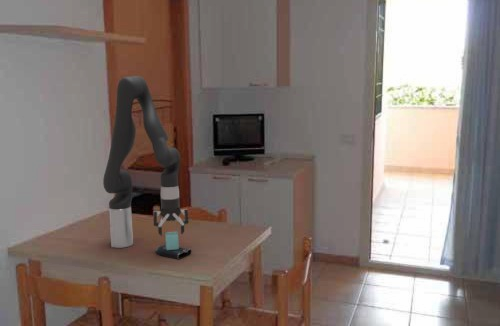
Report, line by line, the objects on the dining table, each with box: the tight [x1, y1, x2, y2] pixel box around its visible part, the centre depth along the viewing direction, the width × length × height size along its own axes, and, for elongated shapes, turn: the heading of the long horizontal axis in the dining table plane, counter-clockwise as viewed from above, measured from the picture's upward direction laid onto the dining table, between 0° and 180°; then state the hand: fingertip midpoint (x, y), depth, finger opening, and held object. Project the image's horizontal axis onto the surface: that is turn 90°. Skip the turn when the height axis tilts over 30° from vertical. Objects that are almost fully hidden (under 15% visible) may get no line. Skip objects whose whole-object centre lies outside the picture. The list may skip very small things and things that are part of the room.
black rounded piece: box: [155, 244, 193, 260], centre depth 208 cm, size 9×6×15 cm
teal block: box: [164, 231, 180, 250], centre depth 207 cm, size 5×5×6 cm
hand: (171, 234), depth 207 cm, fingers open, 8 cm apart
